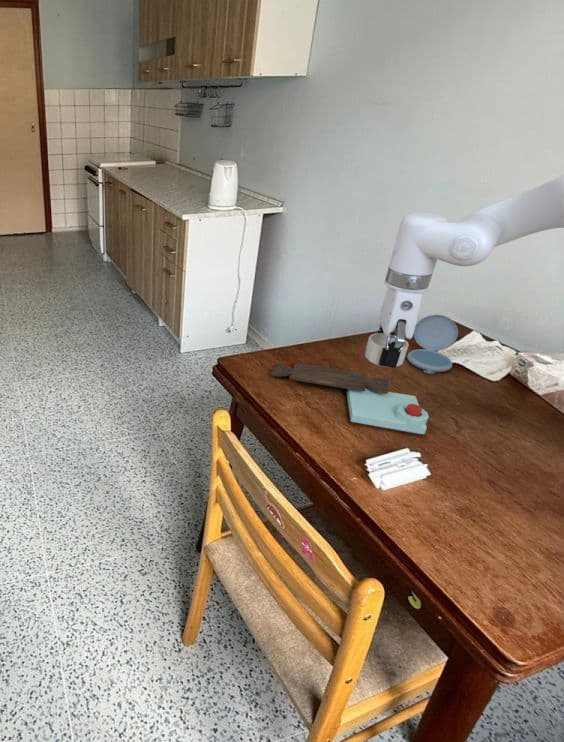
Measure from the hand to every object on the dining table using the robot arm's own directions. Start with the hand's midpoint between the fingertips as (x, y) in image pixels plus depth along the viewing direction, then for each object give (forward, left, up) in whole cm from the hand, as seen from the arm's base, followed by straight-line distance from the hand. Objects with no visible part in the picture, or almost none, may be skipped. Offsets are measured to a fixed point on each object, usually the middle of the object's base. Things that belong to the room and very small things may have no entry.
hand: (384, 356), depth 100 cm
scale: (-3, +1, -13) cm, 13 cm away
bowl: (0, 0, -1) cm, 1 cm away
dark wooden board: (+9, -7, -12) cm, 16 cm away
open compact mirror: (-17, -26, -13) cm, 33 cm away
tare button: (-7, +5, -10) cm, 13 cm away
